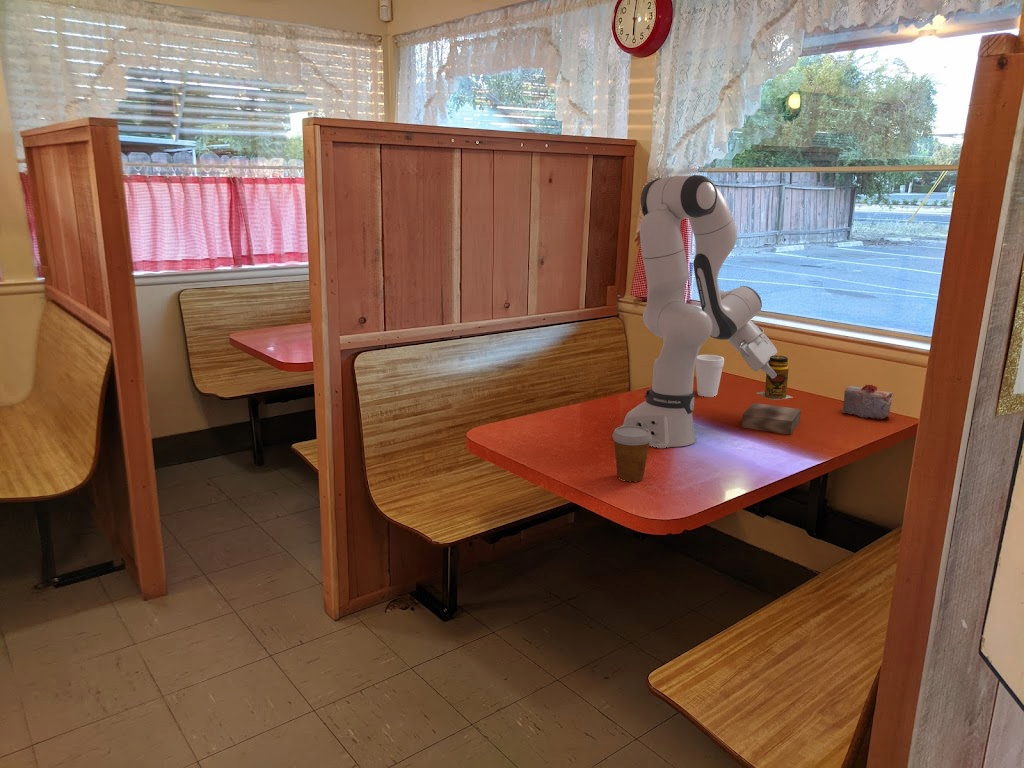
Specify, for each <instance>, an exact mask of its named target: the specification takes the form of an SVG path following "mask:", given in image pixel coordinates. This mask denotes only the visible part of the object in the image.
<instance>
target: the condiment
mask: <svg viewBox="0 0 1024 768" xmlns="http://www.w3.org/2000/svg"><path fill="white" fill-rule="evenodd" d="M788 361H789V358H788V357H787V356H785V355H778V354H776V355H775V356H771V357H770V360H769V362H768V364H769V366H770V367H771V368H772V369H773V370H775V371H776V373H777V376H776V377H775V378H773V379H772V378H771V377H770V376H769V375H768V374H767V373H765V387H764V388H765V389H764V391H760V392H759V391H758V392H757V391H756V392H755V394H757V395H759V396H762V397H764V398H766V399H768V400H771V401H772V400H773V401H776V400H785V399H791V398H792V399H793V396H791V395H788V394H787V391H788V381H789V366H788V364H789V362H788Z"/></svg>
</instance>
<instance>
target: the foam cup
mask: <svg viewBox="0 0 1024 768" xmlns="http://www.w3.org/2000/svg"><path fill="white" fill-rule="evenodd" d="M724 366H725V358H724V357H723V356H721V355H716V354H698V356H697V359H696V363H695V374H696V375H695V376H696V389H697V395H698V396H699V397H703V396H704V397H703V398H714V396H715V397H717V396H716V395H718V392H719V387H720V382H721V377H722V372H723V367H724Z"/></svg>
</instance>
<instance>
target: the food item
mask: <svg viewBox="0 0 1024 768" xmlns="http://www.w3.org/2000/svg"><path fill="white" fill-rule="evenodd" d="M843 394H844V397H843V402H842V403H843V404H842V410H841V411H842V414H845V413H848V414H847V415H852V414H854V415H853V416H858V417H860V418H862V417H863V418H866V419H867V418H869V417H870V419H875V418H876V419H875V420H883V419H885V418H887V417H889V416H890V413H891V406H892V401H893V396H894V393H893V392H890V391H883V390H878V387H877V386H876V385H873V384H865V386H864V385H863V386H855V385H849V386H848V387H846V388H845V390H844V393H843Z"/></svg>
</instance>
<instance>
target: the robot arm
mask: <svg viewBox="0 0 1024 768" xmlns="http://www.w3.org/2000/svg"><path fill="white" fill-rule="evenodd" d="M640 206H641V207H640V208H641V213H642V214H643V216H642V218H641V220H640V223H639V240H640V250H641V255H642V263H643V266H644V267H643V268H644V273H645V277H646V278H645V279H646V285H647V286H646V287H647V294H646V295H647V296H646V306H645V307H644V309H643V312H642V322H643V323H644V326H645V327H646V328H647V329H648V331H650V333H652V334H653V335H655V336H657V337H658V338H661V339H662V341H663V342H662V343H663V344H662V347H661V351H660V353H659V356H658V357H657V358H655V360H654V362H653V365H652V367H653V368H652V369H653V370H652V384H651V386H649V387H648V388H647V390H646V391H645V392H643V398H644V399H645V401H643V402H641V403H639V404H637V405H636V406H635V407H634V408H632V409H631V410H629V411H628V412H627V414H626V415H625V417H624V420H623V424H622V425H620V426H619V427H621V426H639V427H643V428H646V429H648V430H649V431H650V434H651V436H652V439H651V441H650V443H649V447H652V446H653V447H652V448H656V447H657V449H666V447H667V448H673V447H674V448H675V447H676V448H678V447H685V446H689V445H693V444H694V443H696V442H697V441H696V440H697V439H696V435H695V430H694V422H693V412H694V408H695V391H694V378H695V369H696V364H695V363H696V359H697V356H698V355H699V352H700V350H701V348H702V347H703V345H704V344H705V343H706V342H707V341H708V340H709V338H710V337H711V338H713V339H716V340H721V341H722V340H723V341H724V340H726V341H728V342H729V343H730V345H731V346H732V347H733V348H734V349H735V350H736V351H737V352H738V353H739V354H740V356H741V357H742V358H743V360H744V361H745V363H746V364H747V366H748V367H750V369H751V370H752V371H753V372H758V371H760V370H761V371H762V372H764V373H765V374H766V373H767V374H768V375H769V376H770V377H771V378H772V379H773V378H775V377H776V376H777V373H776V371H775V370H773V369H772V368H771V367H770V366H769V360H770V357H771V356H775V355H778V350H777V348H776V346H775V345H774V343H773V342H772V341H771V340H770V339H769V337H768V336H767V335H766V334H765V333H764V332H765V330H764V328H762V327H761V326H759V325H757V324H755V322H753V321H752V319H753V318H755V317H756V316H757V315H758V314H759V313H760V311H761V310H762V304H763V303H762V299H761V296H760V295H759V293H758V292H757V291H756V290H755V289H753V288H752V287H750V286H746V285H740V286H739V287H736V288H734V289H731V290H727V291H726V290H725V291H724V290H720V288H719V287H720V286H719V282H718V280H719V279H718V277H719V274H720V270H721V268H722V266H723V265H724V262H725V261H726V259H727V258H728V256H729V255H730V254H731V253H732V251H733V249H734V247H735V245H736V243H737V241H738V240H737V239H738V232H737V226H736V223H735V220H734V217H733V214H732V211H731V209H730V207H729V205H728V203H727V201H726V199H725V197H724V195H723V194H722V192H721V190H720V189H719V188H718V186H716V185H715V183H714V182H713V181H712V180H711V179H710V178H709V177H707V176H705V175H700V174H694V175H673V176H667V177H663V178H660V177H659V178H656V179H654V180H651V181H649V182H648V183H646V184H645V185H644V187H643V189H642V190H641V196H640ZM685 219H688V220H689V224H690V227H691V230H692V233H693V237H694V241H695V255H694V258H693V264H692V265H693V271H694V279H695V282H696V287H697V293H698V297H699V301H700V305H701V306H700V307H701V308H700V307H699V306H697V305H693V304H691V303H690V304H689V303H686V300H685V287H686V283H687V282H688V280H689V278H690V272H689V266H688V261H687V256H686V249H685V244H684V239H683V236H682V235H683V234H682V233H681V224H682V221H683V220H685Z"/></svg>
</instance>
